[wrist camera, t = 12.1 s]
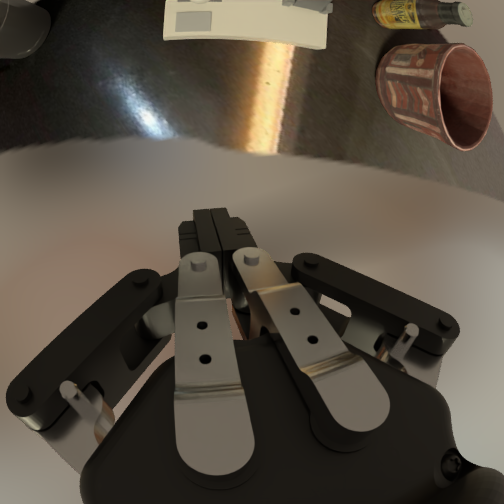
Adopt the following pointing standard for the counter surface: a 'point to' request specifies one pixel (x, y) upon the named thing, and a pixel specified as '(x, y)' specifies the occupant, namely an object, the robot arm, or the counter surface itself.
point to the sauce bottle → (420, 14)
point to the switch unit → (247, 22)
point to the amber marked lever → (312, 4)
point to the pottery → (437, 91)
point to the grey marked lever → (199, 1)
